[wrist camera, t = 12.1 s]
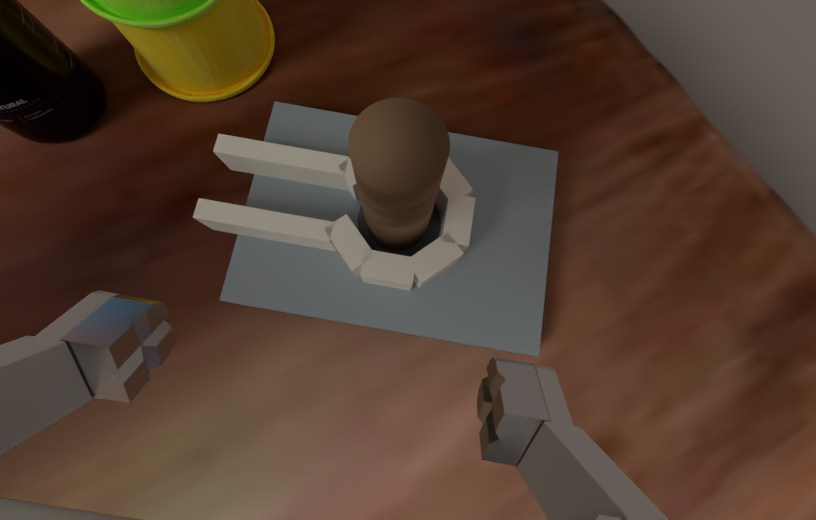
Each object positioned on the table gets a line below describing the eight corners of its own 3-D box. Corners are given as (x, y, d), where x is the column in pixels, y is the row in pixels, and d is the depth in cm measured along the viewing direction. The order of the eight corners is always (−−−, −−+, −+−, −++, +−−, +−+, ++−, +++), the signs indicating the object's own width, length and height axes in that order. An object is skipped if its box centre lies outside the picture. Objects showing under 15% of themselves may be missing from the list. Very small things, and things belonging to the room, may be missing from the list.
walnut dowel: (361, 245, 24) (338, 180, 14) (372, 187, 25) (359, 89, 15) (422, 255, 24) (441, 199, 14) (432, 198, 25) (456, 106, 15)
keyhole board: (209, 299, 25) (169, 290, 21) (261, 114, 28) (237, 72, 24) (527, 355, 25) (556, 358, 21) (547, 164, 28) (575, 132, 24)
